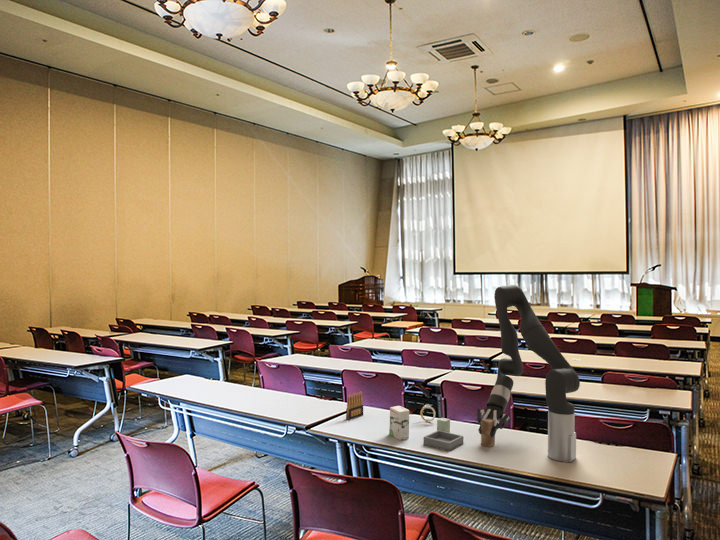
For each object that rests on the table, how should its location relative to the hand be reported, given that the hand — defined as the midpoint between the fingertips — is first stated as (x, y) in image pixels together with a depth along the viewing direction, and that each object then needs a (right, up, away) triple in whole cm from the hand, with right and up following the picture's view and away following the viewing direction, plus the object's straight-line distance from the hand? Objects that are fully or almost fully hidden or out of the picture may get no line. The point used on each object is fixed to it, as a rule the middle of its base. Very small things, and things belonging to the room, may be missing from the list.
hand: (485, 434), depth 200 cm
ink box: (-34, -5, +11) cm, 36 cm away
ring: (-19, -5, +32) cm, 38 cm away
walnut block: (+1, -5, +2) cm, 5 cm away
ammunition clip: (-53, -5, +38) cm, 65 cm away
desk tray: (-17, -4, +2) cm, 17 cm away
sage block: (-14, -5, +16) cm, 22 cm away
